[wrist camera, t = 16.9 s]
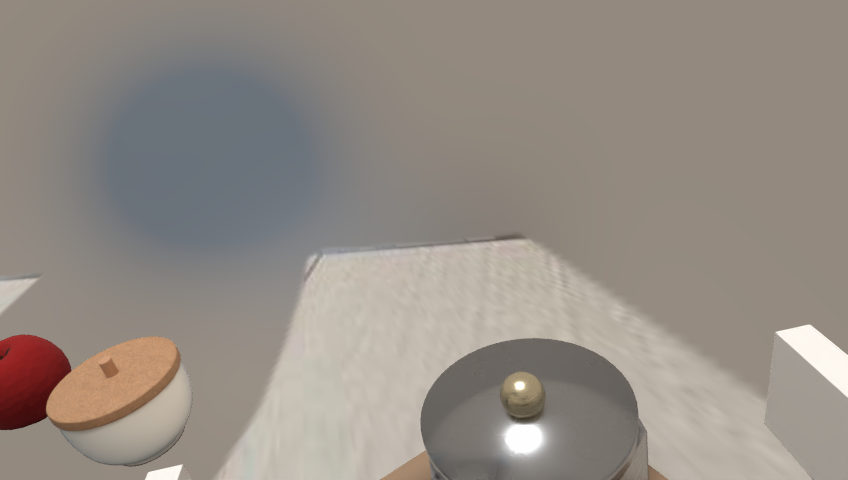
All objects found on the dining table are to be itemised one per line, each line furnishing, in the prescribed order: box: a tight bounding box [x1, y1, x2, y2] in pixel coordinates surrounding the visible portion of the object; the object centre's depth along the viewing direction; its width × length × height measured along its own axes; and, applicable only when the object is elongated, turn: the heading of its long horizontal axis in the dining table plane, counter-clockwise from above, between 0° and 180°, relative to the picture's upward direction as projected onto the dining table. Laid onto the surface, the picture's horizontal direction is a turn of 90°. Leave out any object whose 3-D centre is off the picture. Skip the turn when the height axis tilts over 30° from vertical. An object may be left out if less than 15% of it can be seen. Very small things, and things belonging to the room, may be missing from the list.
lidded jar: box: [46, 337, 192, 466], centre depth 49 cm, size 11×11×9 cm
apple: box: [0, 335, 71, 430], centre depth 57 cm, size 9×9×10 cm
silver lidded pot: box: [421, 338, 649, 480], centre depth 32 cm, size 11×11×12 cm
